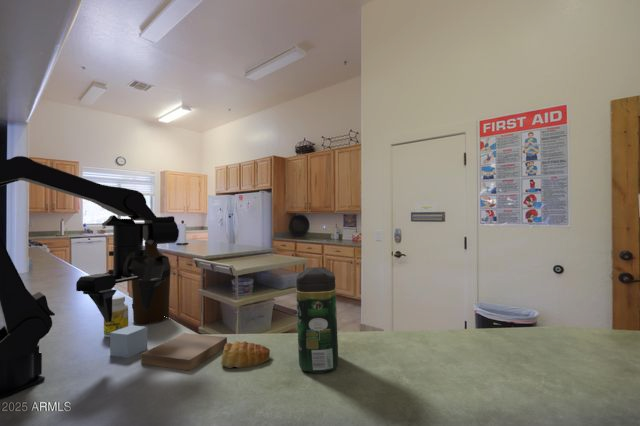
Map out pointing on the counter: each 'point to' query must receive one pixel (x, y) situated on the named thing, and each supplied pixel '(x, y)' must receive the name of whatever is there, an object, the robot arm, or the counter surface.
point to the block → (128, 341)
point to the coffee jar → (317, 320)
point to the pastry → (244, 354)
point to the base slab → (184, 351)
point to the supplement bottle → (117, 316)
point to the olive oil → (160, 297)
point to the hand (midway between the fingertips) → (128, 315)
